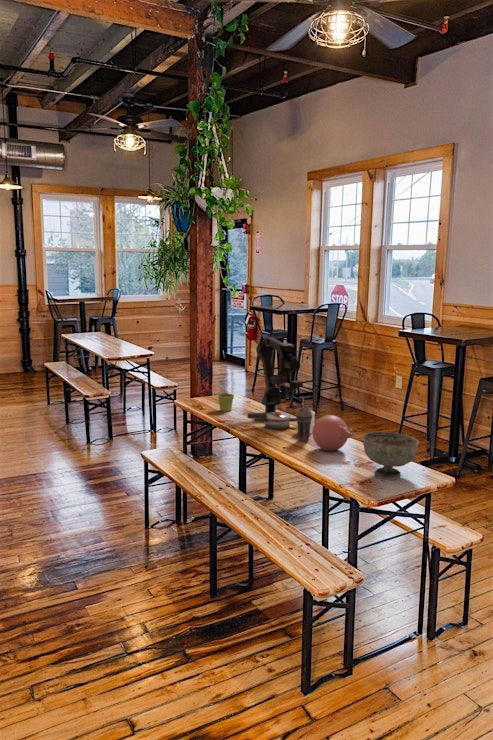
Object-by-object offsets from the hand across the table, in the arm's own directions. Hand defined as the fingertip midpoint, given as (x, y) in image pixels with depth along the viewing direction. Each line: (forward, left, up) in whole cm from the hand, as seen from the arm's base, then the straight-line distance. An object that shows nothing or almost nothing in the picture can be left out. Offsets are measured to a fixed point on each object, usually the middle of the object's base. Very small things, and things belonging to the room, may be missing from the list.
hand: (284, 399), depth 294 cm
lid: (+7, -8, -8) cm, 14 cm away
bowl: (+76, +33, -13) cm, 84 cm away
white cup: (+17, +9, -13) cm, 23 cm away
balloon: (+47, +17, -13) cm, 52 cm away
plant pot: (-26, -30, -13) cm, 42 cm away
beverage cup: (+31, +6, -13) cm, 34 cm away
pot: (+7, -4, -12) cm, 15 cm away
